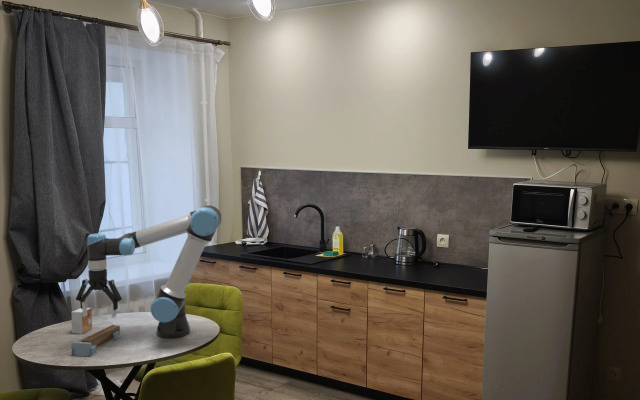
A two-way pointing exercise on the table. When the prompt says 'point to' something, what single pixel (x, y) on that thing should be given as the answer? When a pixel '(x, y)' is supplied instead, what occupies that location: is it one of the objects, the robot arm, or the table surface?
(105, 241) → the robot arm
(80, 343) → the end cap
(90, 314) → the small box
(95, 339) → the slat
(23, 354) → the table surface
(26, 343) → the table surface
